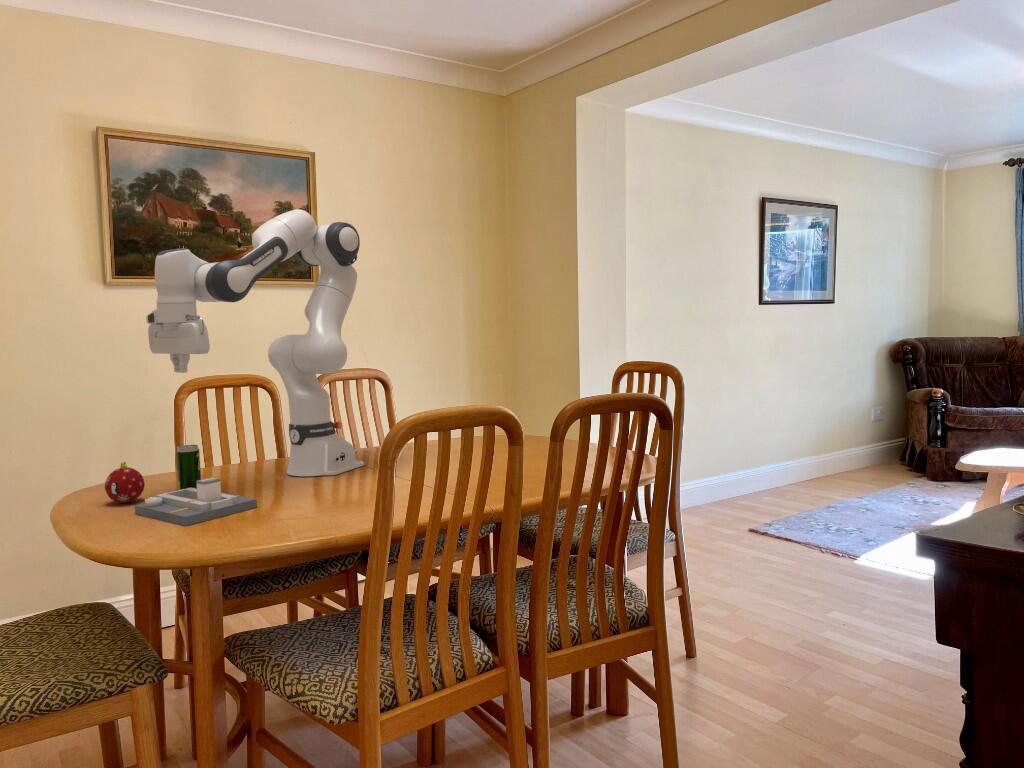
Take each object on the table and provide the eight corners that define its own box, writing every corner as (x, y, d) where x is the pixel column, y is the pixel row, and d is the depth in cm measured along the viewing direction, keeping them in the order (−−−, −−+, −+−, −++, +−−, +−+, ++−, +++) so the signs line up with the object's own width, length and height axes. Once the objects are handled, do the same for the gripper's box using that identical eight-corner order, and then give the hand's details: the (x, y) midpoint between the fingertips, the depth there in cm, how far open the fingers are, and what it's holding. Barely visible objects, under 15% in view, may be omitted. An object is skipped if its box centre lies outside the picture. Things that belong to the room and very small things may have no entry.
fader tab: (213, 501, 175) (212, 476, 174) (221, 502, 173) (220, 478, 172) (197, 505, 171) (196, 480, 171) (205, 506, 170) (204, 481, 169)
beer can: (181, 496, 190) (178, 448, 189) (177, 492, 194) (174, 446, 193) (204, 493, 193) (201, 446, 192) (199, 489, 197) (196, 443, 196)
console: (205, 497, 188) (204, 482, 188) (257, 507, 177) (256, 491, 177) (135, 514, 174) (134, 498, 173) (186, 526, 162) (185, 509, 162)
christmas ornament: (153, 498, 189) (150, 458, 188) (130, 507, 180) (127, 465, 179) (121, 498, 190) (118, 458, 189) (97, 506, 181) (94, 465, 180)
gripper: (214, 314, 181) (218, 372, 183) (166, 316, 193) (169, 370, 194) (190, 315, 176) (194, 374, 178) (142, 316, 188) (145, 372, 189)
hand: (180, 372), depth 186 cm, fingers closed
